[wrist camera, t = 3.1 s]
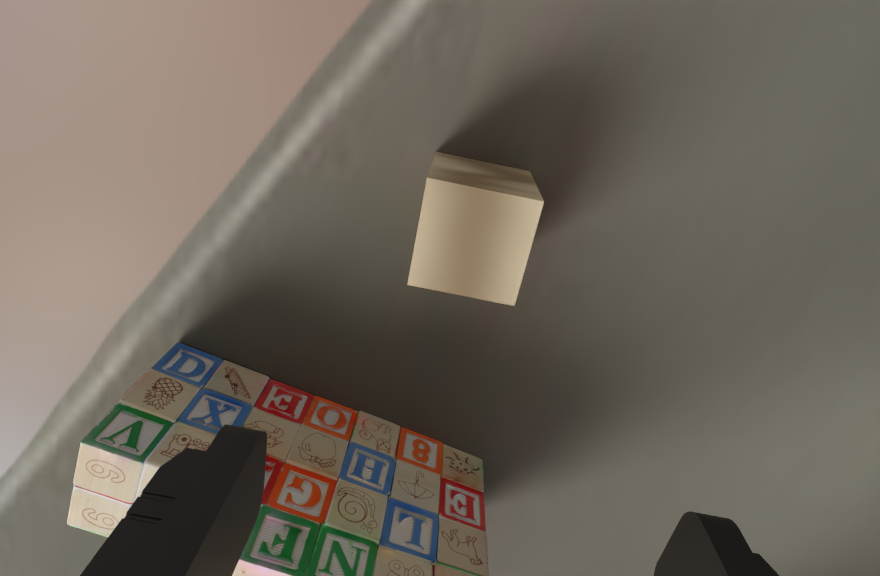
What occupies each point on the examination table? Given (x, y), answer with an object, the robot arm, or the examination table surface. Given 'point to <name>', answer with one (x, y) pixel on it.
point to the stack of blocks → (293, 474)
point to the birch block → (475, 229)
